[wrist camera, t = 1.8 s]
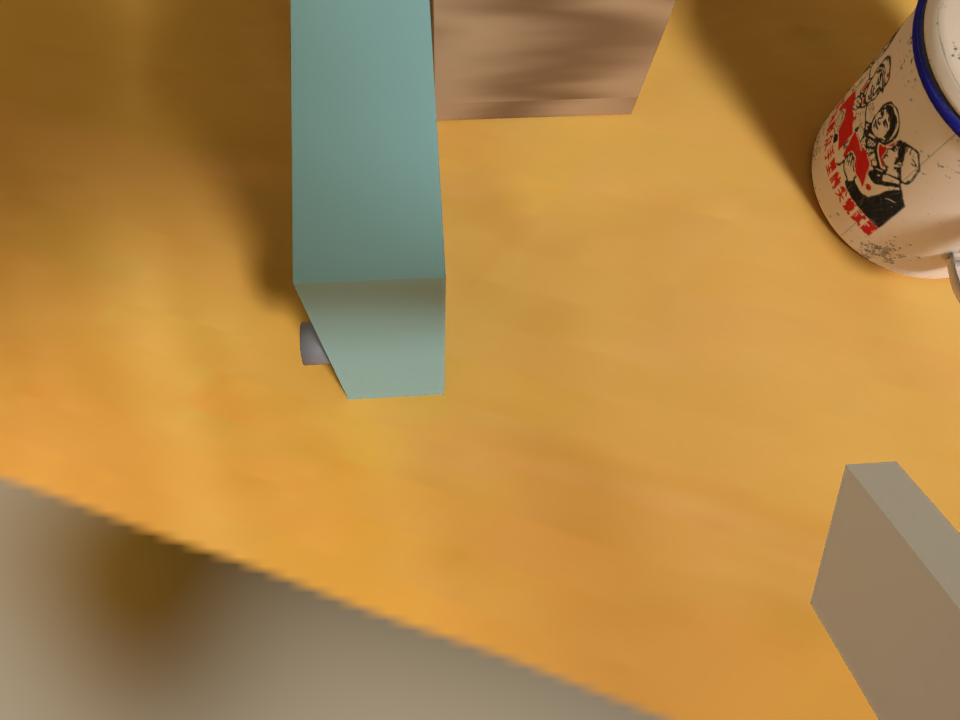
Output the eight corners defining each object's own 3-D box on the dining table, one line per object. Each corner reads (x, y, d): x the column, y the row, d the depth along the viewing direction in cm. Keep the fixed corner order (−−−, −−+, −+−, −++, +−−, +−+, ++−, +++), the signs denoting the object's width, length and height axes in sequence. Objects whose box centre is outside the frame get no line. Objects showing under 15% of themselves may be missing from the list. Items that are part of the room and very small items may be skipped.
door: (432, 182, 33) (427, -36, 22) (444, 394, 31) (445, 277, 20) (317, 186, 33) (250, -32, 22) (320, 401, 31) (248, 285, 19)
